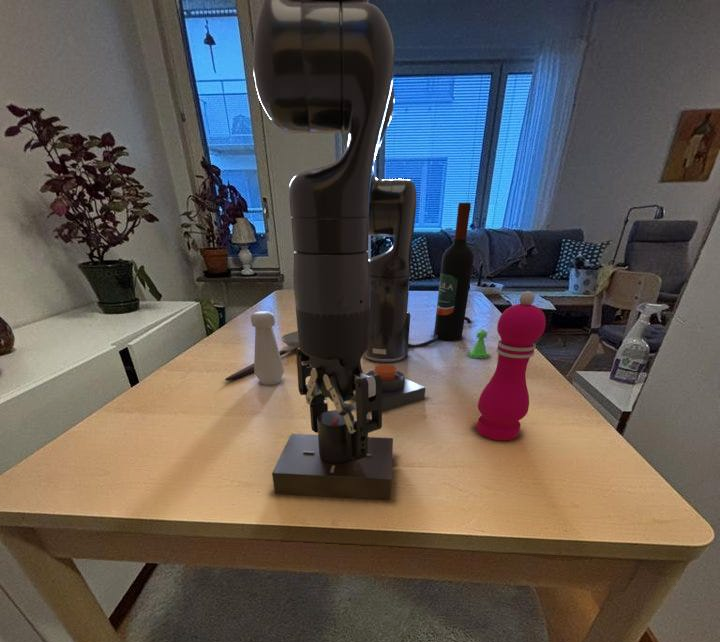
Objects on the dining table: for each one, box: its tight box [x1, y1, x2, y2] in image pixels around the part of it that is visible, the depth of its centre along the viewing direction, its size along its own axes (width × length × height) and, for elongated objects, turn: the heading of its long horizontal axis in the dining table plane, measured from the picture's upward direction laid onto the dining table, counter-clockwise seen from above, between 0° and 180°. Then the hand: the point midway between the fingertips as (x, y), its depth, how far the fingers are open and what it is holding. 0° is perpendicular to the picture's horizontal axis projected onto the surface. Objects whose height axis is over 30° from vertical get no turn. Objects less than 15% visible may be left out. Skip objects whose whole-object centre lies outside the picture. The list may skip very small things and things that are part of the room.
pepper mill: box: [476, 290, 547, 441], centre depth 56 cm, size 7×7×20 cm
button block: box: [351, 370, 426, 412], centre depth 72 cm, size 11×10×4 cm
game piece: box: [468, 329, 489, 359], centre depth 92 cm, size 4×4×6 cm
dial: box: [317, 409, 355, 463], centre depth 48 cm, size 4×4×5 cm
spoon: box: [224, 330, 299, 381], centre depth 90 cm, size 11×33×3 cm, turn 152°
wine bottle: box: [433, 202, 474, 342], centre depth 99 cm, size 8×8×30 cm
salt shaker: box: [250, 310, 285, 386], centre depth 75 cm, size 6×6×13 cm
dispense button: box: [373, 364, 397, 380], centre depth 70 cm, size 4×4×2 cm
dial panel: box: [271, 433, 394, 501], centre depth 50 cm, size 14×10×3 cm
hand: (337, 443), depth 49 cm, fingers open, 8 cm apart
